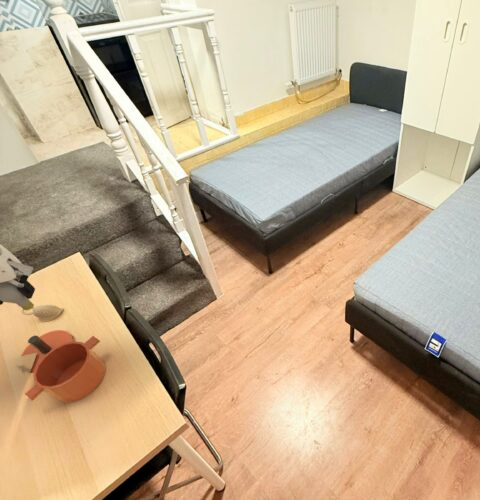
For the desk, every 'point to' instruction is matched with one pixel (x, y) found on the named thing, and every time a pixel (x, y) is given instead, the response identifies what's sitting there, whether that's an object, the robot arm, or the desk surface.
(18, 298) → the light bulb
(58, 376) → the pot
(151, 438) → the desk surface
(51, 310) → the decorative ornament
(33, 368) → the pot lid
